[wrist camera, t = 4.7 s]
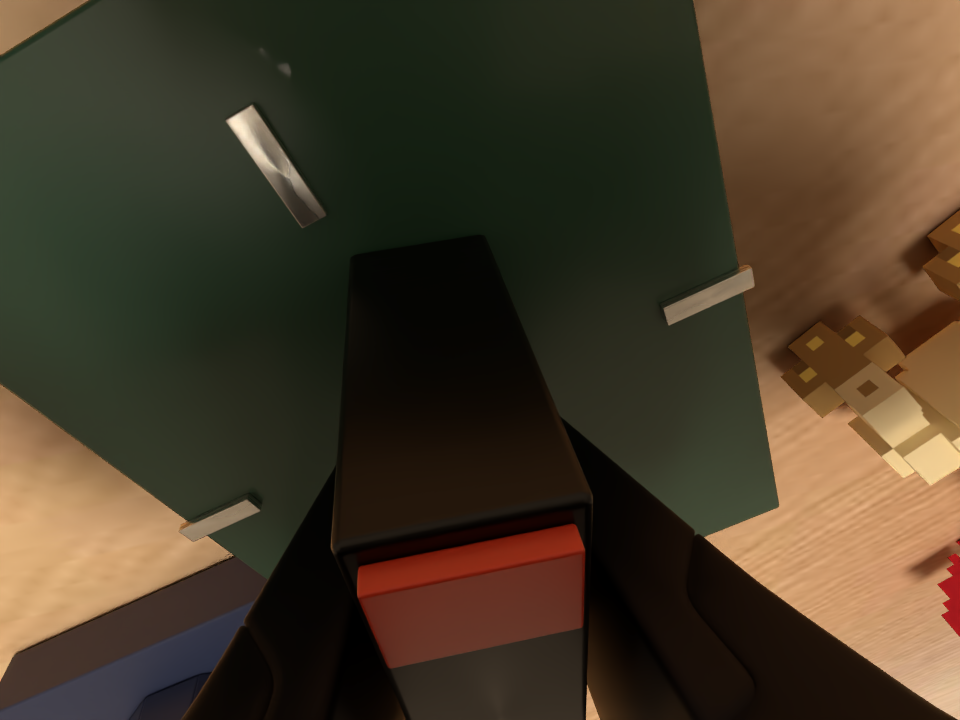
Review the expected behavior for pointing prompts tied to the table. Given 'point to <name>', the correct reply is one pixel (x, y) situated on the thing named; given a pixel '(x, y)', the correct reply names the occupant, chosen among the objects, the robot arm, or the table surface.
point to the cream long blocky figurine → (896, 388)
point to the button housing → (135, 654)
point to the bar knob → (459, 493)
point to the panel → (366, 234)
